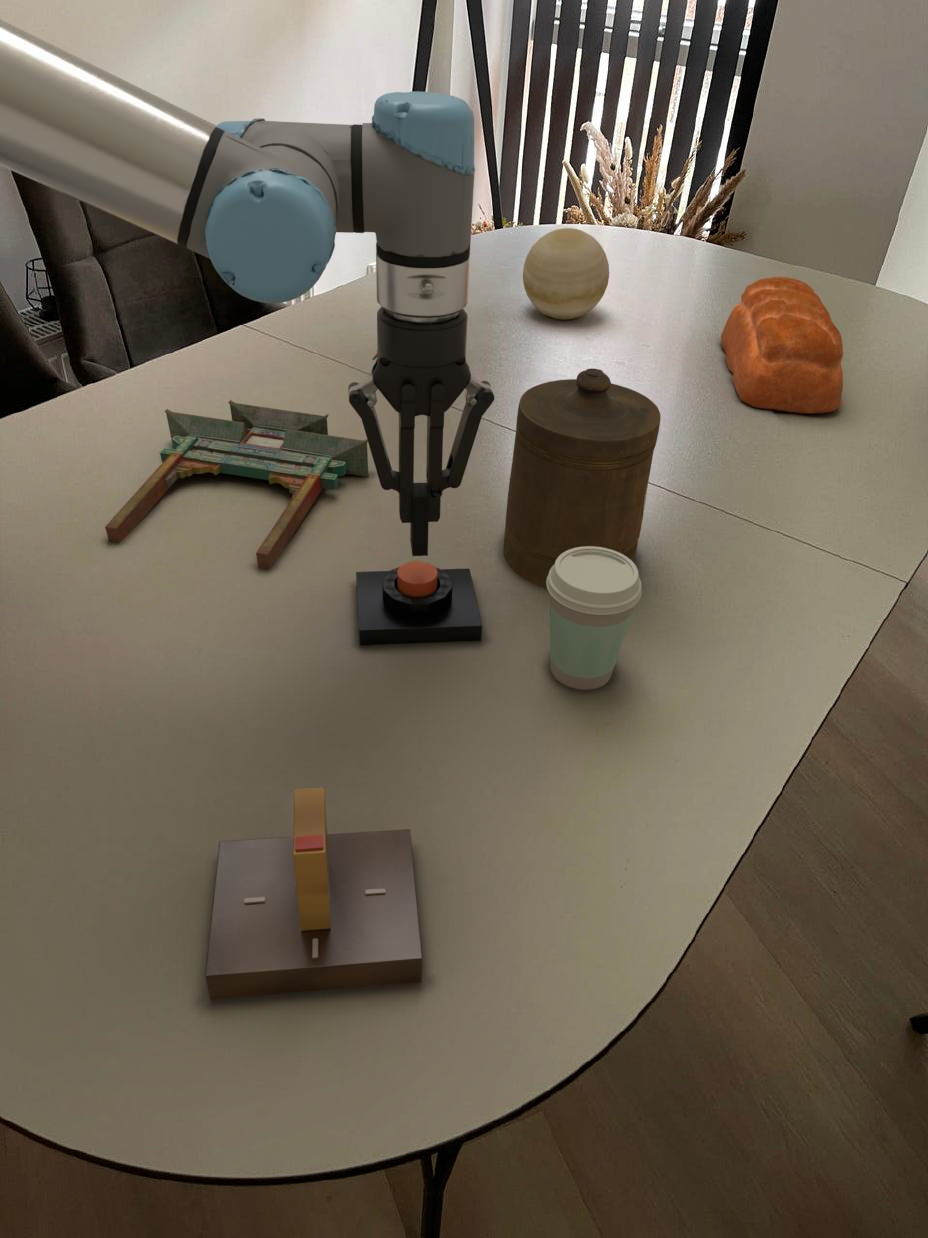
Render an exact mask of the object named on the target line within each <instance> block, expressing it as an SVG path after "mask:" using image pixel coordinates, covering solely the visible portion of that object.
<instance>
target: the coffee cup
mask: <svg viewBox="0 0 928 1238" xmlns="http://www.w3.org/2000/svg"><path fill="white" fill-rule="evenodd" d="M546 585H547V588H546V589H547V591H548V593H549V646H550V647H549V654H550V660H549V661H550V671H551V675H552V676H553V677H554V679H556V680H557V681H558V682H560V684H562V685H564V686H566V687H569V688H572V689H575V690H583V691H585V690H586V691H588V690H589V691H590V690H595V689H598V688H601V687H603V686H605V685H606V684H607V683H609V681H610V680H611V677H612V674H613V671H614V668H615V666H616V663H617V660H618V657H619V654H620V651H621V648H622V645H623V642H624V639H625V636H626V634H627V633H626V632H627V630H628V627H629V624H630V621H631V618H632V615H633V612H634V609H635V606H636V605H638V603H639V601H641V597H642V592H643V591H642V581H641V578H640V575H639V569H638V567H637V565H636V564H635V562H634V563H633V562H632V561H631V560H630V559H629V558H628V557H626V556H625V555H623V554H621V553H619V552H617V551H614V550H611V549H607V548H603V547H594V546H584V547H577V548H573V549H570V550H567V551H565V552H563V553H562V554H561V555H560V556H559V557H558V558H557V559H556V561H555V564H554V565H553V566H552V568H551V569H550V571H549V575H548V577H547V581H546Z"/></svg>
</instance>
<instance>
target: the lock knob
mask: <svg viewBox="0 0 928 1238" xmlns="http://www.w3.org/2000/svg"><path fill="white" fill-rule="evenodd" d="M327 820H328V818H327V803H326V788H325V787H324V786H323V787H308V788H307V787H306V788H295V789H294V791H293V837H294V838H293V857H294V868H295V878H296V888H297V898H298V908H299V918H300V929H301V931H307V930H319V929H330V927H331V919H330V868H329V849H328V834H329V833H328V821H327Z"/></svg>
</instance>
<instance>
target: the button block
mask: <svg viewBox="0 0 928 1238" xmlns="http://www.w3.org/2000/svg"><path fill="white" fill-rule="evenodd" d="M399 567H400V566H398V567H395V568H393V569H390V570H377V571H376V570H375V571H374V570H373V571H356V572H355V583H356V585H355V586H356V603H357V604H356V606H357V620H358V622H357V623H358V625H357V626H358V642H359V647H360V646H361V647H362V646H384V645H385V646H386V645H408V644H411V645H412V644H433V643H434V644H435V643H436V644H437V643H454V642H455V643H458V642H461V643H463V642H480V641H482V634H483V633H482V632H483V624H482V618H481V614H480V609H479V605H478V600H477V597H476V591H475V587H474V583H473V582H474V581H473V578H472V577H473V576H472V573H471V569H470V568H440V567H435V566H434V567H435V568H436V570H437V572H438V577H437V589H436V591H435V592H434V593H433V594H430V595H428V596H425V597H411V596H408V595H405V594H402V593H401V592H400V591H399V590H398V587H397V571H398V569H399Z"/></svg>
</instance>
